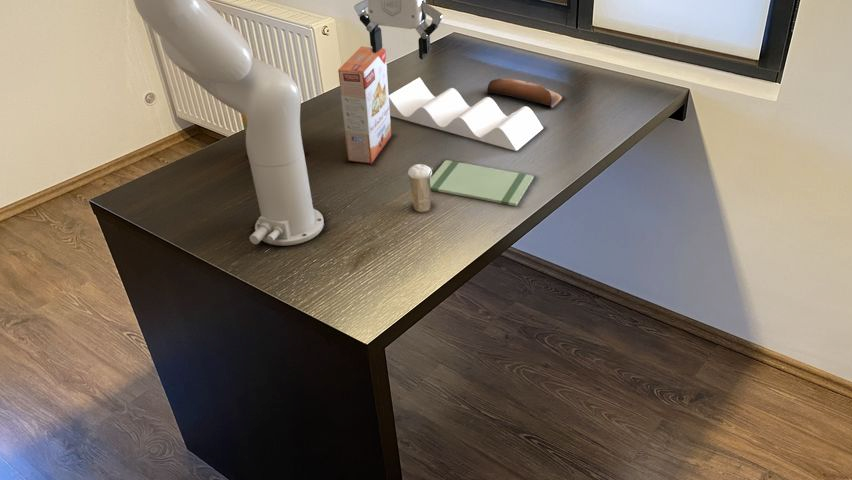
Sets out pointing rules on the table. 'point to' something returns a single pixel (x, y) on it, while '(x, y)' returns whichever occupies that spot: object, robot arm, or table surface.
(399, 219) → the table surface
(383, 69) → the cracker box
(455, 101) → the white wavy rack
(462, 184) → the towel
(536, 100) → the sunglasses case
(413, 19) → the robot arm
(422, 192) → the milkshake
